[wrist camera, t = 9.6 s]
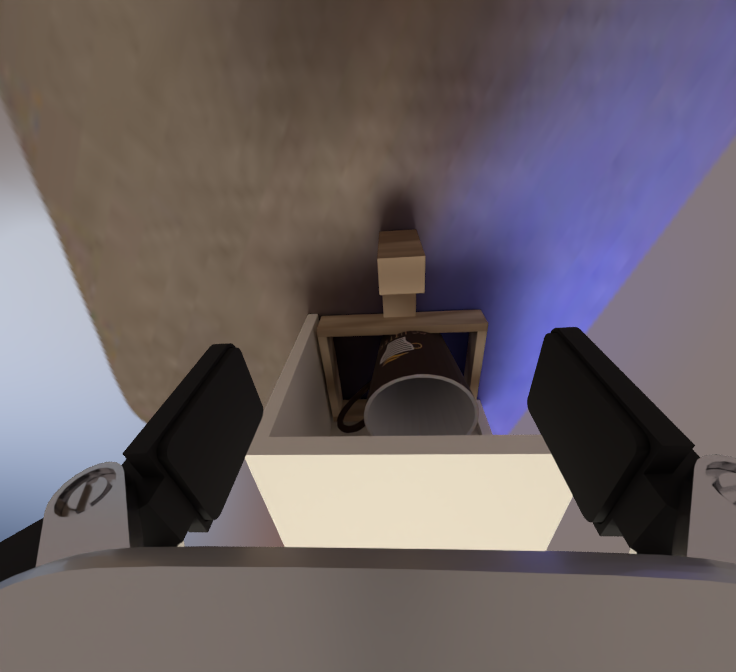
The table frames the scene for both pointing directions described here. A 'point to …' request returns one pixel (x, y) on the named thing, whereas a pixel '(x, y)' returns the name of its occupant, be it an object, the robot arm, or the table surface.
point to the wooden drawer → (399, 316)
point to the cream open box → (396, 476)
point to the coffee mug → (415, 390)
